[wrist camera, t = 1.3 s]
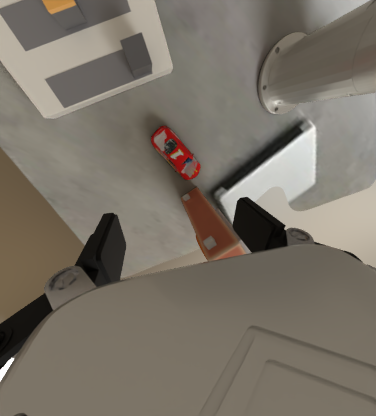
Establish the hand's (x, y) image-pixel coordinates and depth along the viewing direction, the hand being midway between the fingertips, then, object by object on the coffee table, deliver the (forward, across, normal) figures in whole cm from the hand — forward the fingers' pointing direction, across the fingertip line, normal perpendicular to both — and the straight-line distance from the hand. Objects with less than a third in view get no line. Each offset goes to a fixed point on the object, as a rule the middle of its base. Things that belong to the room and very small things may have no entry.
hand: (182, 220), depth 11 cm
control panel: (+25, -10, +14) cm, 31 cm away
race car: (+26, -4, 0) cm, 26 cm away
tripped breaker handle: (+22, +10, -19) cm, 30 cm away
